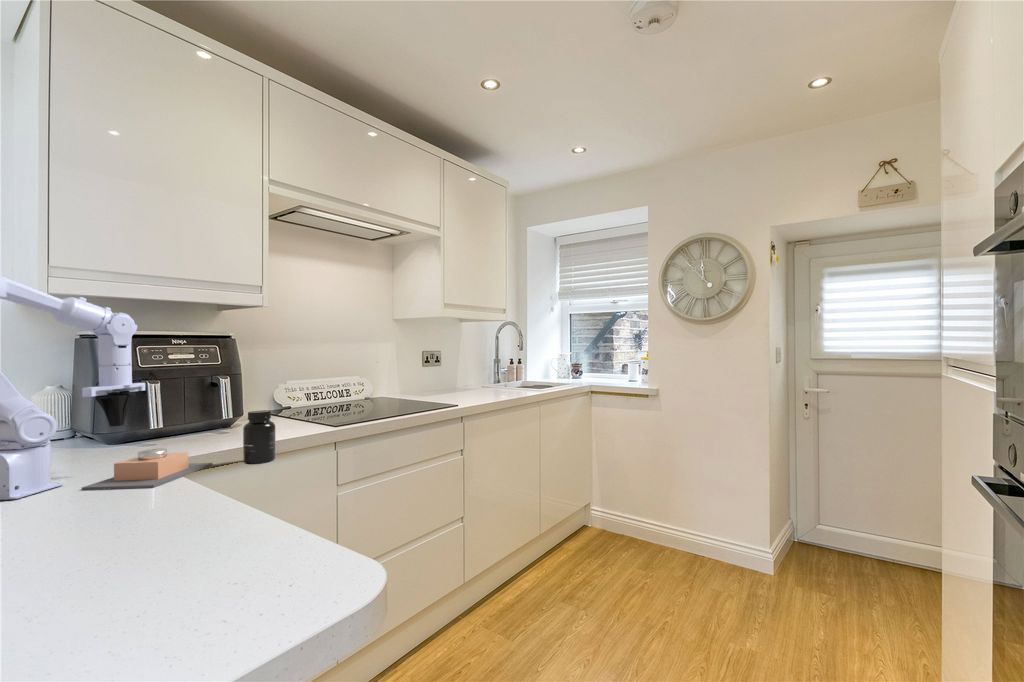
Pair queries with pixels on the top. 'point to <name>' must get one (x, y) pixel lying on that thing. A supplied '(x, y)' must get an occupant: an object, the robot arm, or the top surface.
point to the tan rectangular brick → (150, 467)
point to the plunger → (152, 454)
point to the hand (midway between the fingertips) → (116, 425)
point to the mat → (145, 483)
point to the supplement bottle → (259, 438)
